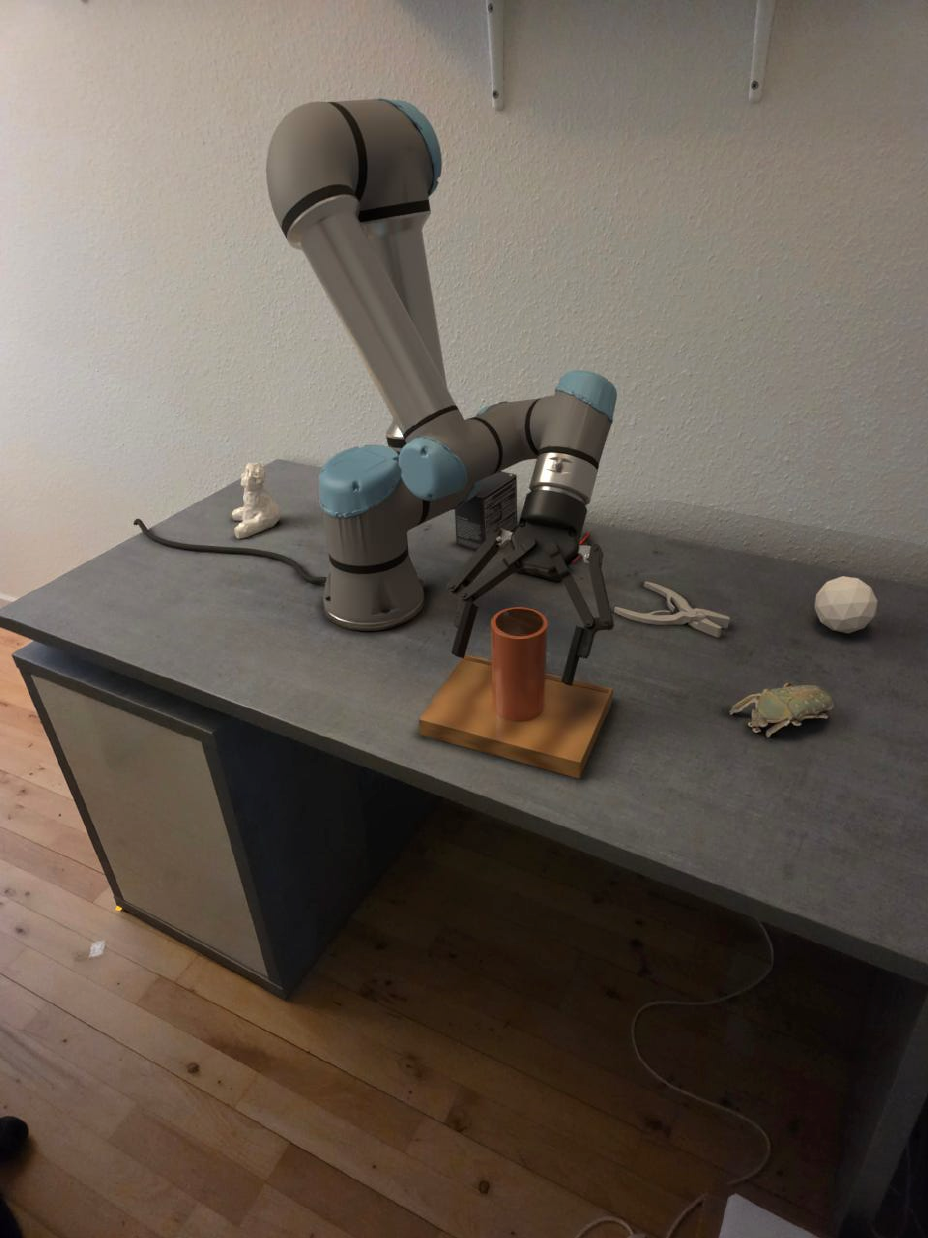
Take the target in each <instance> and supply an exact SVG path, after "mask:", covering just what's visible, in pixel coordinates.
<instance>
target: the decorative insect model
mask: <svg viewBox="0 0 928 1238" xmlns="http://www.w3.org/2000/svg"><path fill="white" fill-rule="evenodd" d="M752 703H755V704H754V705H755V706H754V707H755V708H752V709H751V721H749V722H747V725H748V727H749V728H752V732H753V733H755V734H756V733H761V732H762V729H761V728H765V727H767V726H768V724H769V723H770V724H774V725H773V726H772V727H770V728H768V729H766V731H765V732H766V733H765V737H767V738H770V737H771V735H772V734H774V733H776V732H777V731H779V730H780V729H781V728H783V727H787V726H788V725H789V724H790V723H791V724H792V725H793V726H797V727H800V726H801V725H802V722H801V721H803V720H805V719H819V718H820V719H828V718H829V716H828V714H827V713H825V711H831V710H832V709H833V708H834V707H835V705H834V702H833V700H832V697H831V696H829V694H828V693H827V692H826V691H825V690H823V689H821V687H820V686H818V685H813V684H804V685H794V684H792V683H790V682H785V683H784V685H783V686H782V687H776V688H775V687H774V688H772V689H770V688H764V689H762V692H761V693H760V692H757V693H755V694H750V695H748V696H746V697H744V698H743V699H742V700H740V701H738V702H737V703H736V704H734V705H733V706H732V707H731V709H730V710H729V711H728V712H729V715H730V716H731V715H734V713H739V712H742V711H743V710H744V709H745V708H747V707H748V706H749V705H751V704H752ZM759 727H761V728H759Z"/></svg>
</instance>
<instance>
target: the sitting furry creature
mask: <svg viewBox="0 0 928 1238" xmlns="http://www.w3.org/2000/svg"><path fill="white" fill-rule="evenodd" d="M240 476H241V479H240V486H241V487H243V489H244V490H243V496H242V501H243V506H239V507H237V508H235V509H233V510H232V512H231V518H232V520H233V521H236V522H240V523H238V524H237V525H236V526H235V527H234V528H233V531H234V535H235V537H236V539H238V540H239V539H246V538H249V537H252V536H254V535H256V534H258V533H261V532H264V531H265V530H268V529H271V528H273V527H275V525H276V524H277V523H278V521H280V517H281V510H280V507H279V505H278V504H277V502H275V501H274V500H273V499H272V498H271V497H270V496H269V494H268V492H267V491H268V490H267V488H265V487H264V484H265V479H266V471H265V469H264V468H263V466H262V464H261V462H260V461H257V462H255V463H254V462H252V461H250V462H248V463H247V464H245V471H244V472H243V473H241V474H240Z"/></svg>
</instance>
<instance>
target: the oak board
mask: <svg viewBox="0 0 928 1238" xmlns="http://www.w3.org/2000/svg"><path fill="white" fill-rule="evenodd" d="M562 677H563V676H560V675H555V674H552V673H547V672H546V687H545V707H544V710H543V711H542V713H541V714H540V715H539V716H537V717H535V718H533V719H530V720H527V721H512V720H508V719H505V718H503V717H501V716H499V715H498V714H497V713H496V712H495V711H494V709H493V706H492V659H486V658H483V657H478V656H474V655H469V654H466V653H465V656H464V658H461V660H460V661H459V662H458V664H457V665H456V666H455V668H454V669H453V671H452V672H451V673H450V675H449V676H448V678H447V679H446V681H445V682H444V683H443V685H442V686H441V688H440V689H439V690H438V691H437V693H436V694H435V696H434V697H433V699H432V700H431V701H430V703H429V704H428V706H427V707H426V709H424V711H423V713H422V714H421V716H420V717H419V718H418V725H419V735H420V736H424V737H427V738H431V739H434V740H439V741H441V742H445V743H448V744H449V743H450V744H452V745H456V746H460V747H463V748H468V749H470V750H474V751H478V752H481V753H485V754H489V755H492V756H495V757H500V758H503V759H507V760H510V761H514V762H518V763H522V764H524V765H527V766H532V767H536V768H540V769H543V770H547V771H550V772H554V773H557V774H560V775H564V776H567V777H572V778H576V779H581V776H582V774H583V771H584V769H585V768H586V765H587V762H588V760H589V757H590V755H591V753H592V750H593V748H594V746H595V743H596V741H597V739H598V736H599V734H600V731H601V729H602V727H603V724H604V722H605V720H606V717H607V715H608V713H609V710H610V708H611V706H612V701H613V692H614V691H613V688H612V687H607V686H603V685H599V684H594V683H590V682H585V681H582V680H578V679H574V680H573V684H572V686H570V685H566V684H564V683H563V682H562Z"/></svg>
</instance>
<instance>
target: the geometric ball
mask: <svg viewBox="0 0 928 1238" xmlns="http://www.w3.org/2000/svg"><path fill="white" fill-rule="evenodd" d="M877 607H878V599H877V597H876V595H875V594H874V591H873V589H872V587H871V586H869V585H868V584H867V583H866V582H864V581H862V580H861V579H860V578H858V577H850V576H845V575H843V576H839V577H836V578H833V579H830V580H828V581H826V582H825V583H824V584H823V585H822V587H821V588H820V589H819V590H818V592H817V593H816V594H815V600H814V610H815V613H816V616H817V618H818V619H819V622H820V623H821V624H823V625H824V626H826V627H827V628H828V629H830V630H832V631H835V632H839V633H844V634H851V633H854V632H857V631H859V630H863V629H865V628H866V627H867V626H868V624H869V623H870V622H871V621H872V620H873V618H875V616H876V612H877Z"/></svg>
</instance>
